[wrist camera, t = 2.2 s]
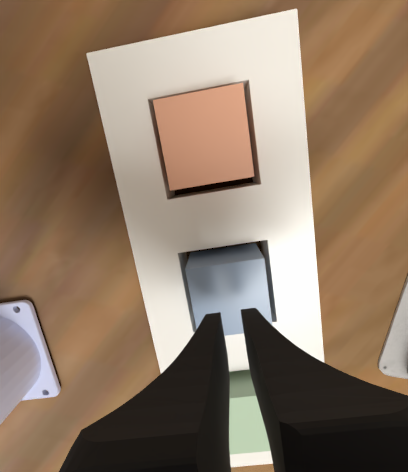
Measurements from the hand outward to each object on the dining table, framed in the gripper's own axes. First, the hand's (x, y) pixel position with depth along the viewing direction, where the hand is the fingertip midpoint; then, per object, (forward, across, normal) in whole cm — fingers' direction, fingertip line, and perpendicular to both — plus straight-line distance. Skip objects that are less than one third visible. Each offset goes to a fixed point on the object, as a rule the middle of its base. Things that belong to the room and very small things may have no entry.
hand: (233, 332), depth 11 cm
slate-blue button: (+6, 0, 0) cm, 6 cm away
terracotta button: (+6, 0, -8) cm, 10 cm away
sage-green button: (+6, 0, +8) cm, 10 cm away
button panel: (+7, 0, 0) cm, 7 cm away
